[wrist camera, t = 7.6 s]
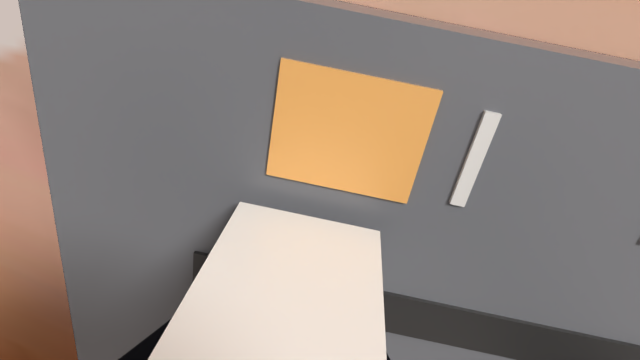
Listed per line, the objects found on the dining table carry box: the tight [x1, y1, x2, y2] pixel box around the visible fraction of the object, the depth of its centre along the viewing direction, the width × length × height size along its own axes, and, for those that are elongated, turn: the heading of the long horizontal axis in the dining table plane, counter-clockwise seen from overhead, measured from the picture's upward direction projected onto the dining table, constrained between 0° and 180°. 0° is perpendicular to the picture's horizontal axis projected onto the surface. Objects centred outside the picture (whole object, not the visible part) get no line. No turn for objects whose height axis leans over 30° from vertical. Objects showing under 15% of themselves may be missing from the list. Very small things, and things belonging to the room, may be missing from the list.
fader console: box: [18, 0, 640, 360], centre depth 11 cm, size 13×25×3 cm, turn 80°
